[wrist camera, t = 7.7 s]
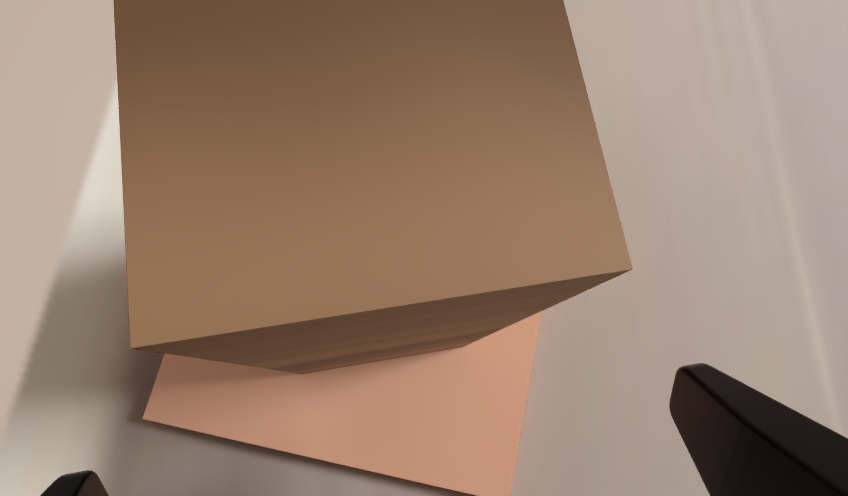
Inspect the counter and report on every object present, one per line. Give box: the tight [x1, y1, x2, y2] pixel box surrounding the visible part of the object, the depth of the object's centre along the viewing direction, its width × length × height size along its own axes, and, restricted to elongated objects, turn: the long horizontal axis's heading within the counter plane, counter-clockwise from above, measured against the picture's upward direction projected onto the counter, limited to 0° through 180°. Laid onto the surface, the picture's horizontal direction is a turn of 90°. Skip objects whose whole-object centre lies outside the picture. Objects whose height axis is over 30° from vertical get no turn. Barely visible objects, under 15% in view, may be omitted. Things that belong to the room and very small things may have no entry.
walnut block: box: [114, 0, 632, 374], centre depth 12 cm, size 5×5×12 cm
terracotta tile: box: [142, 311, 542, 496], centre depth 18 cm, size 11×11×1 cm
